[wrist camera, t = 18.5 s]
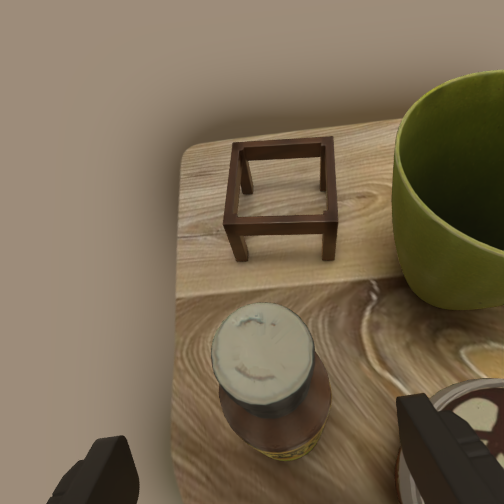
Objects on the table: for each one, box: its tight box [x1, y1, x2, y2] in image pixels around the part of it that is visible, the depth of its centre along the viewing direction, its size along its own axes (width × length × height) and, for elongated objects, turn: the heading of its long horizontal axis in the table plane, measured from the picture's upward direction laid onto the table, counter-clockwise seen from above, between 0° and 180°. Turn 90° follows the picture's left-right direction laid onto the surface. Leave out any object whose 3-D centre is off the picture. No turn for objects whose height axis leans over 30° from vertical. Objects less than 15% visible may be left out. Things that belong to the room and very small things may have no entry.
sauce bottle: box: [211, 303, 332, 461], centre depth 23 cm, size 6×6×20 cm
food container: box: [395, 378, 504, 504], centre depth 23 cm, size 12×6×10 cm, turn 171°
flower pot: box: [392, 70, 504, 310], centre depth 28 cm, size 15×15×16 cm
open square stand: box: [223, 136, 338, 261], centre depth 38 cm, size 10×10×7 cm
